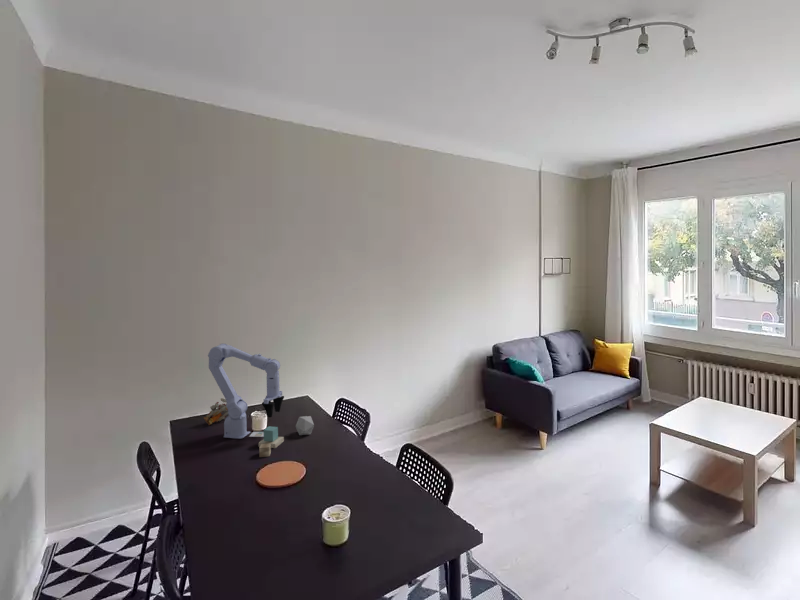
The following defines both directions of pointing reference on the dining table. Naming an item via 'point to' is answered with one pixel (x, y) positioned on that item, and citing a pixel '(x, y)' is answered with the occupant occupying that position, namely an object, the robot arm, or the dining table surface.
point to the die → (305, 425)
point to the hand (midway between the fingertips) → (273, 414)
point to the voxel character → (217, 412)
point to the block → (265, 450)
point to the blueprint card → (257, 434)
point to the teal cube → (270, 434)
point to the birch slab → (274, 443)
